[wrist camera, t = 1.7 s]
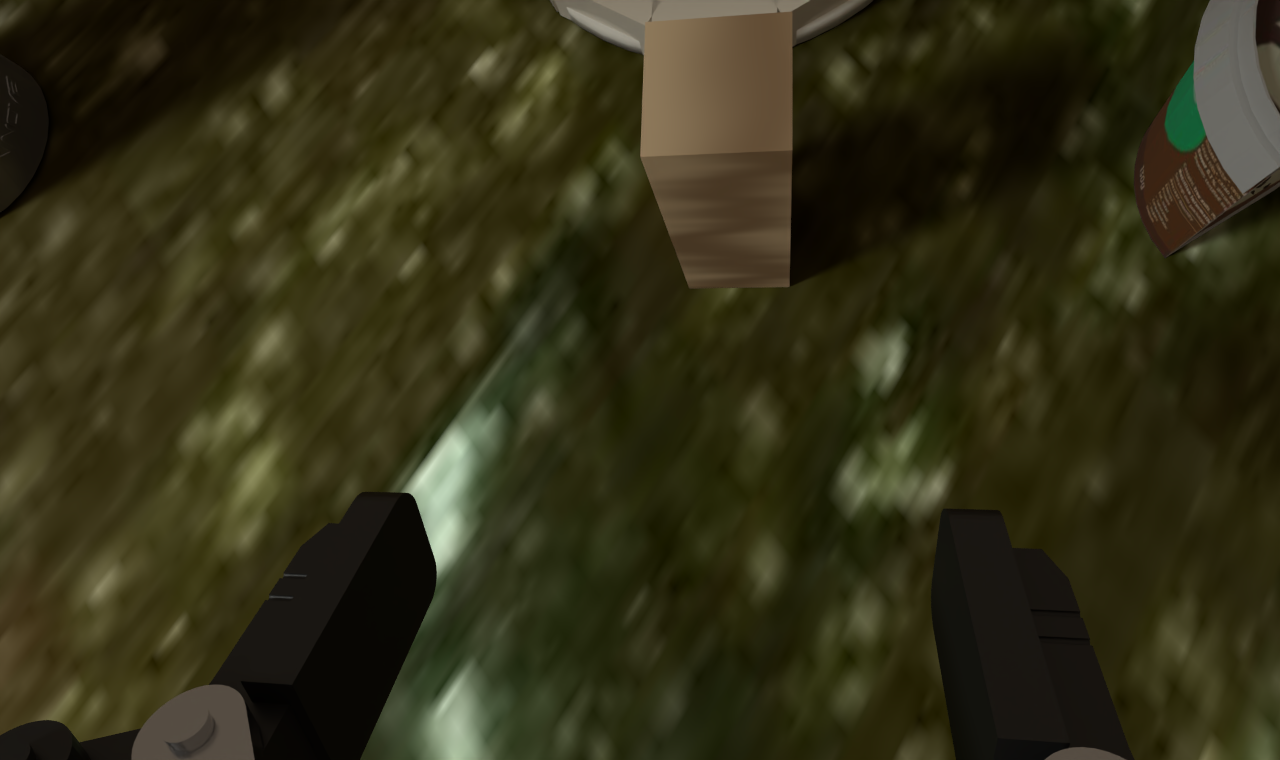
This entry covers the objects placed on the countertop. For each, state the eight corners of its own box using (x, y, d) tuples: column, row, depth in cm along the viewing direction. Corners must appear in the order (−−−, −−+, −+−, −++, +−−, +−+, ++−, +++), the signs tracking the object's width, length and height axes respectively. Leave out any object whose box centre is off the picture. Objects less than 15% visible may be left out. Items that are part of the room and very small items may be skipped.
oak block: (689, 288, 34) (640, 157, 22) (691, 195, 35) (645, 22, 23) (789, 286, 33) (792, 150, 22) (789, 192, 34) (792, 11, 23)
